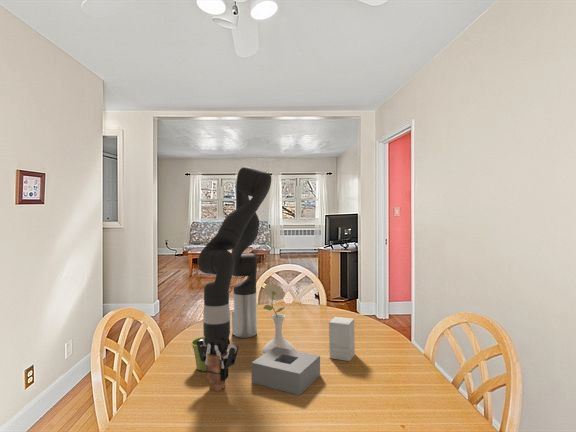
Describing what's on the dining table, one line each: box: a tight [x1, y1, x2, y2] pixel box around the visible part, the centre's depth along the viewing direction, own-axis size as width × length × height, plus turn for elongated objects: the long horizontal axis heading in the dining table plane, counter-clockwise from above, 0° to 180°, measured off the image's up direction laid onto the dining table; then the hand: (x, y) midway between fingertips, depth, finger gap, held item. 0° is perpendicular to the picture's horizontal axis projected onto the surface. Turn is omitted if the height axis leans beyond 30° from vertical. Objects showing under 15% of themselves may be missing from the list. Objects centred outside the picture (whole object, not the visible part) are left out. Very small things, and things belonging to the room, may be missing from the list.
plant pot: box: [190, 336, 207, 372], centre depth 119 cm, size 9×9×9 cm
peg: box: [206, 353, 226, 392], centre depth 105 cm, size 4×4×10 cm
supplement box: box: [328, 316, 356, 362], centre depth 127 cm, size 7×7×13 cm
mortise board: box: [250, 347, 321, 396], centre depth 110 cm, size 16×14×6 cm
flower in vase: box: [262, 282, 296, 355], centre depth 129 cm, size 13×11×25 cm
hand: (217, 378), depth 105 cm, fingers closed on peg, 4 cm apart
